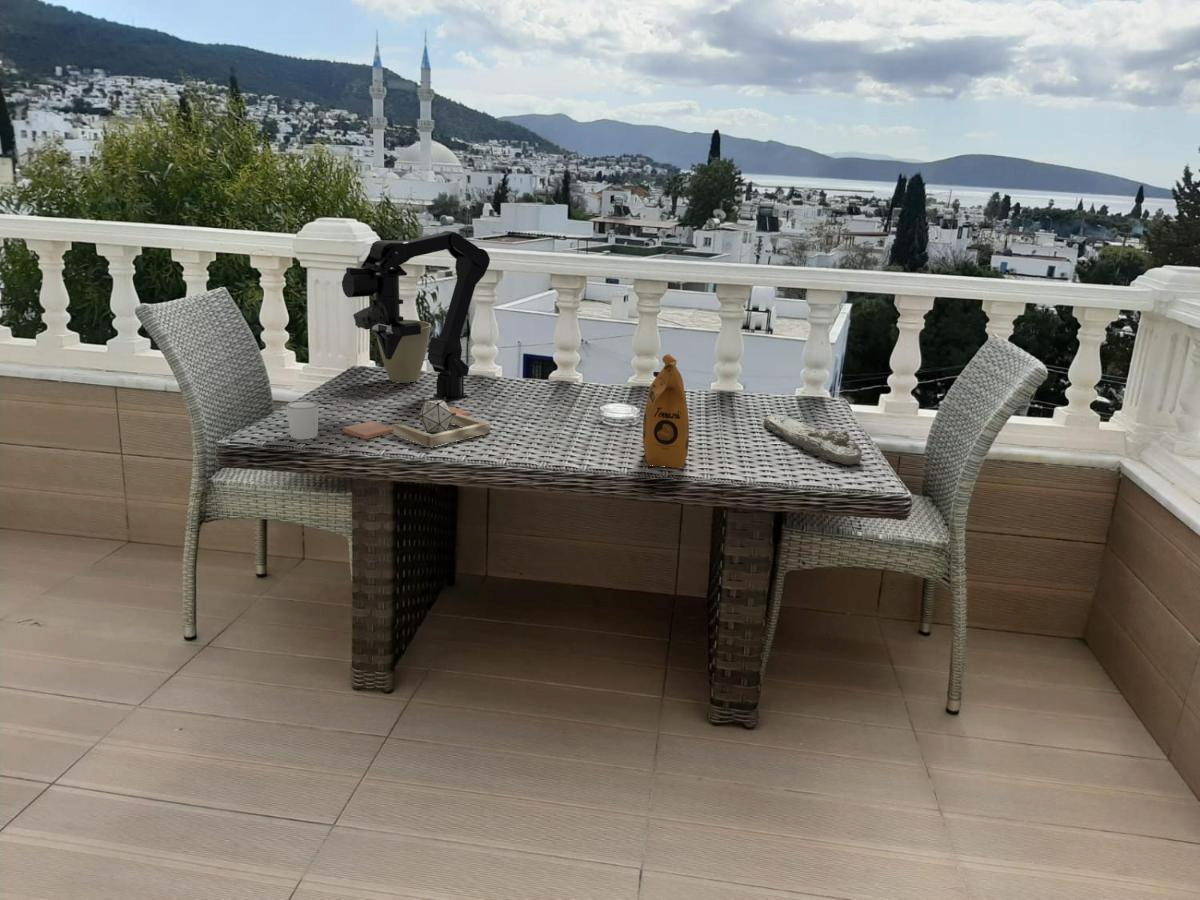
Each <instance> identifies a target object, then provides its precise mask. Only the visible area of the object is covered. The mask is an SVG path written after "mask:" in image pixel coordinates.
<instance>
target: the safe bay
mask: <svg viewBox="0 0 1200 900" xmlns="http://www.w3.org/2000/svg"><path fill="white" fill-rule="evenodd" d="M452 413H454V412H452ZM450 423H451V424H450V425H452V424H455V425H458V426H462V428H461V427H458V426H457V428H454V429H450V430H447V431H440V432H439V433H438V432H436V433H433V434H431V433H430V432H428V433H426V432H427V431H422V430H419V429H417V428H413V427H410V426H408V425H405V424H401V423H395V424H393V427H392V428H393V429H394V433H393V436H394V435H396V436H399V437H402V438H405V439H408V440H411V441H414V442H417V443H420V444H423V445H426V446H429V447H435V446H438V445H441V444H445V443H448V442H452V441H456V440H461V439H464V438H469V437H473V436H477V435H482V434H486V433H490V434H491V422H487V421H483V420H479V419H477V418H474V417H470V416H464V415H461V414H458V413H456V415H453V416H452V419H451V421H450ZM455 425H454V426H455ZM396 436H395V437H396ZM399 437H398V438H399ZM402 438H401V439H402ZM405 439H404V440H405ZM408 440H407V441H408ZM411 441H410V442H411ZM414 442H413V443H414ZM417 443H416V444H417Z"/></svg>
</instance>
